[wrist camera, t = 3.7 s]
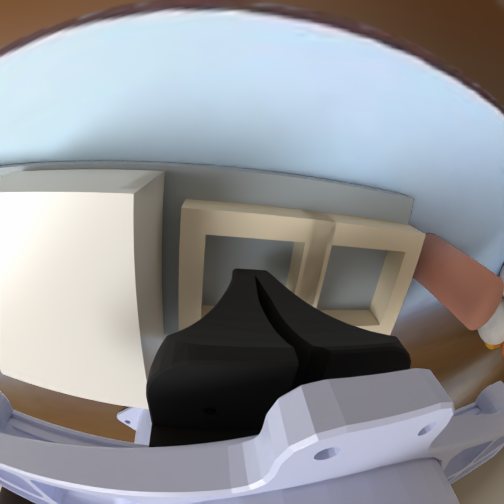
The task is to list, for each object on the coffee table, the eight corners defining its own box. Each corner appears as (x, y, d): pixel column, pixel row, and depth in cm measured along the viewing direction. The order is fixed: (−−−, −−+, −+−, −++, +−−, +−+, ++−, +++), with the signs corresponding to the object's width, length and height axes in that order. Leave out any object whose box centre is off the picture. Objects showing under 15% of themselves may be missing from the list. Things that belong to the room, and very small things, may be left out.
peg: (445, 258, 16) (504, 303, 11) (413, 285, 17) (468, 340, 11) (433, 223, 15) (502, 265, 10) (399, 252, 16) (462, 305, 10)
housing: (164, 171, 11) (133, 193, 7) (164, 341, 14) (151, 409, 10) (14, 171, 10) (-50, 194, 6) (37, 321, 13) (2, 373, 9)
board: (403, 194, 14) (432, 206, 12) (362, 330, 18) (379, 357, 15) (-48, 171, 10) (-74, 180, 8) (-27, 293, 14) (-46, 312, 11)
